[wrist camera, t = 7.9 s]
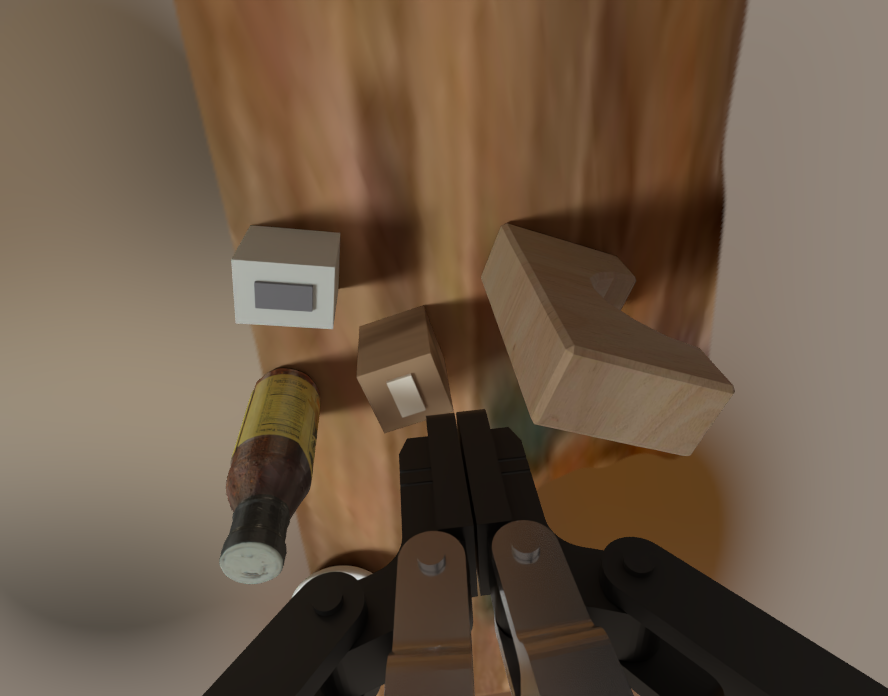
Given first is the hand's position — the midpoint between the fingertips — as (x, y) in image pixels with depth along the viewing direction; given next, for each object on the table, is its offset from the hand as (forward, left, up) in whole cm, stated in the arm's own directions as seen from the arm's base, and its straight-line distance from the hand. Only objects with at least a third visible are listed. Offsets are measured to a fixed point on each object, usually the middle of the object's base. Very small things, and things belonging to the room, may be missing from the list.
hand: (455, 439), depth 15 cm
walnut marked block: (+17, -2, -34) cm, 38 cm away
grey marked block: (+8, -10, -34) cm, 36 cm away
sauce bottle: (+21, -13, -34) cm, 42 cm away
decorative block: (+11, +11, -34) cm, 38 cm away
